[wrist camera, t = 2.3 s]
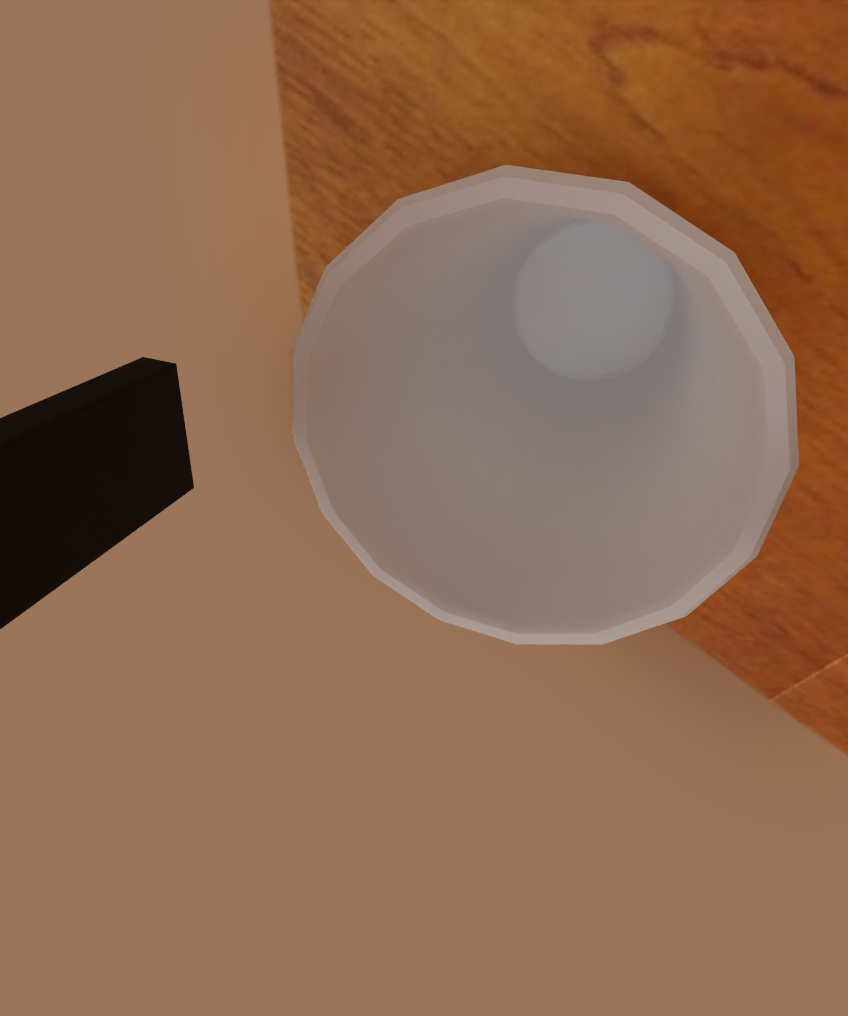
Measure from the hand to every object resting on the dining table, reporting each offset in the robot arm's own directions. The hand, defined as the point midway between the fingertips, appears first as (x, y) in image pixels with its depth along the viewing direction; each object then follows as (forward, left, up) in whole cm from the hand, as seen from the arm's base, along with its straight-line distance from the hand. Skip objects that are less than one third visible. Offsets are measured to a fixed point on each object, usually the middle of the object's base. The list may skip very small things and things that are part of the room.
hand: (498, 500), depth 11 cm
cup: (0, 0, -15) cm, 15 cm away
